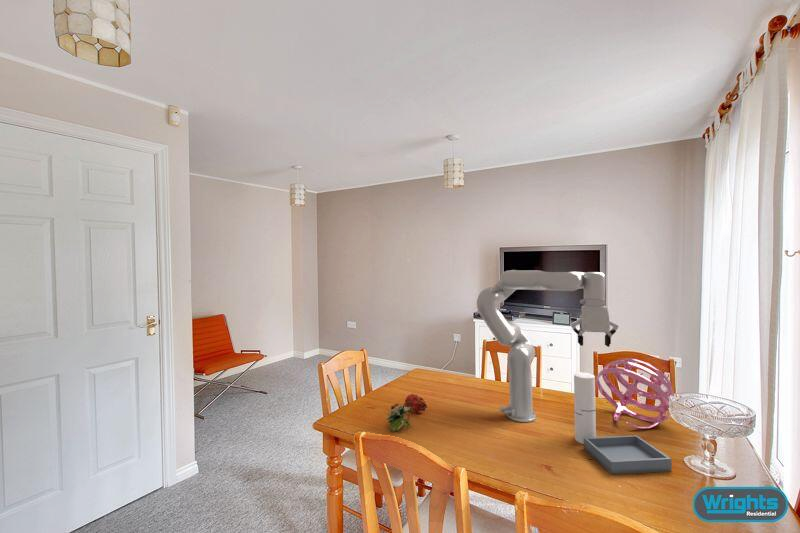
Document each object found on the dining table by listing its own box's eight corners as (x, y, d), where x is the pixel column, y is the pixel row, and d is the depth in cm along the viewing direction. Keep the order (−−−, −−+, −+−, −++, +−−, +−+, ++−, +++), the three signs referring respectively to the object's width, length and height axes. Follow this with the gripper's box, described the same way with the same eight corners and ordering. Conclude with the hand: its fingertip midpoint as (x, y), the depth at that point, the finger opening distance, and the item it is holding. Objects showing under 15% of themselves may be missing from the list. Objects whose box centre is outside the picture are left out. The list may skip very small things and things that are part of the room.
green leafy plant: (395, 436, 155) (400, 407, 162) (415, 438, 149) (420, 408, 156) (379, 429, 149) (385, 400, 155) (400, 431, 142) (405, 400, 149)
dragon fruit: (405, 411, 173) (425, 421, 165) (397, 405, 167) (418, 415, 159) (412, 394, 176) (433, 403, 169) (405, 388, 170) (426, 397, 163)
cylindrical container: (595, 446, 133) (594, 379, 133) (573, 441, 137) (572, 376, 137) (596, 438, 139) (595, 374, 139) (576, 434, 143) (575, 371, 143)
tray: (612, 474, 116) (611, 462, 116) (584, 448, 132) (583, 437, 132) (671, 471, 117) (671, 458, 117) (636, 446, 133) (636, 435, 133)
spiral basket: (632, 393, 132) (659, 343, 144) (571, 388, 157) (598, 346, 169) (676, 450, 134) (699, 396, 146) (609, 437, 159) (633, 391, 171)
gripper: (573, 303, 142) (573, 346, 143) (621, 304, 139) (621, 348, 139) (568, 301, 150) (568, 342, 150) (614, 302, 146) (614, 344, 146)
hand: (594, 345), depth 144 cm, fingers open, 9 cm apart
